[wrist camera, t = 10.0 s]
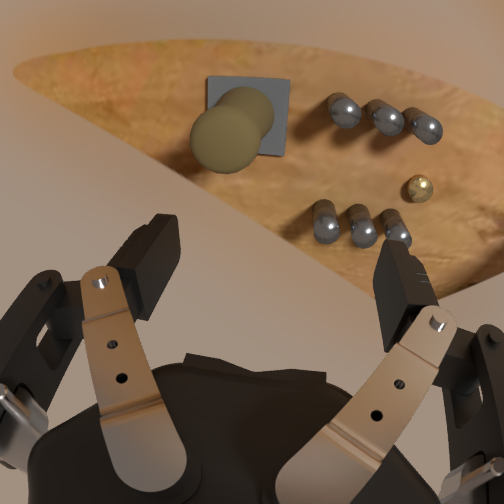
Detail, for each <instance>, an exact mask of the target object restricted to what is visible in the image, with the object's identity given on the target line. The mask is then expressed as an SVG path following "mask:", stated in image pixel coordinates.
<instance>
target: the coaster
mask: <svg viewBox="0 0 504 504" xmlns="http://www.w3.org/2000/svg"><path fill="white" fill-rule="evenodd" d="M237 87H252V88H254V89H257V90H260V91H261V92H262V93H263V94H265V95H266V96H267V97H268V99H269V100H270V102H271V103H272V105H273V109H274V113H275V114H274V123H273V125H272V128H271V130H270V131H269V132H268V133H267V134H266V136H265V137H264V138H263V139H261V144H260V149H259V151H258V153H257V154H268V155H279V156H284V153H285V142H286V130H287V117H288V105H289V92H290V80H289V79H277V78H262V77H242V76H208V109H210V108H212V107H215V105H216V103H217V102H218V100H219V99H220V98H221V96H222V95H223V94H224V93H226V92H227V91H229V90H230V89H233V88H237Z"/></svg>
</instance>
